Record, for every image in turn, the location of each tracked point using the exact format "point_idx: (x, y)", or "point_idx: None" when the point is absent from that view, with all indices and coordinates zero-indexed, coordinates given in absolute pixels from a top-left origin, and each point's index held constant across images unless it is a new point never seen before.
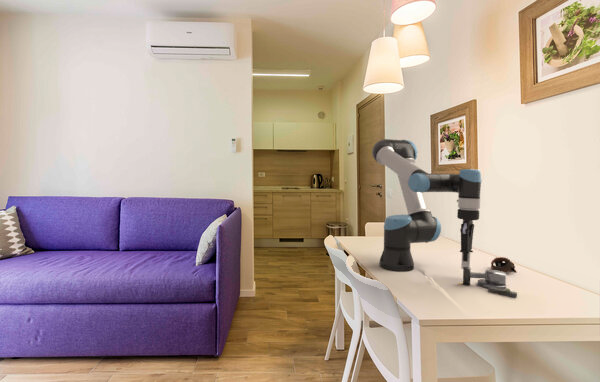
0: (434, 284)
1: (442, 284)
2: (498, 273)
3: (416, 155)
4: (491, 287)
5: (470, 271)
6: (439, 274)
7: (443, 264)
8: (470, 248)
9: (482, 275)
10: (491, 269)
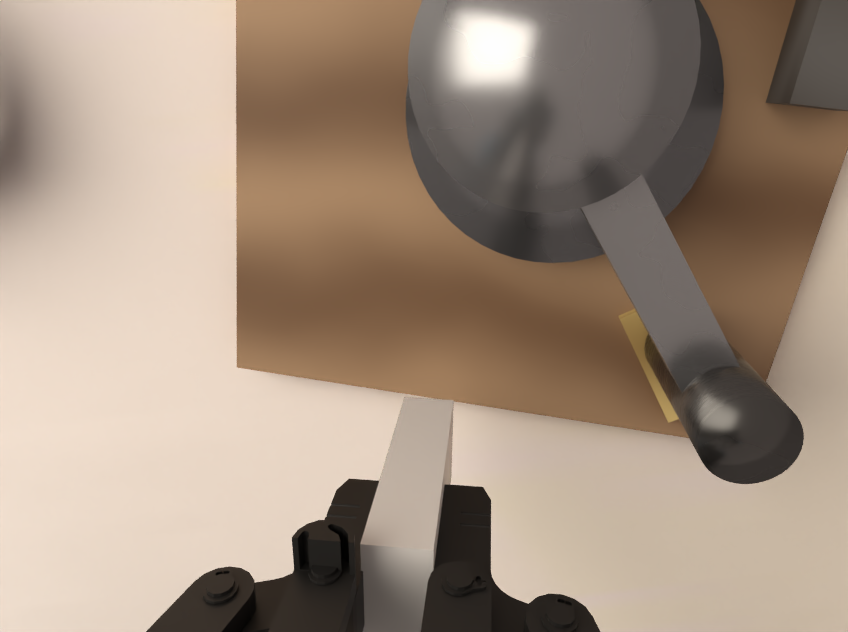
0: (699, 563)
1: (657, 513)
2: (605, 17)
3: None
4: (817, 83)
5: (746, 378)
6: None
7: (12, 583)
8: (317, 608)
9: (667, 226)
10: None
